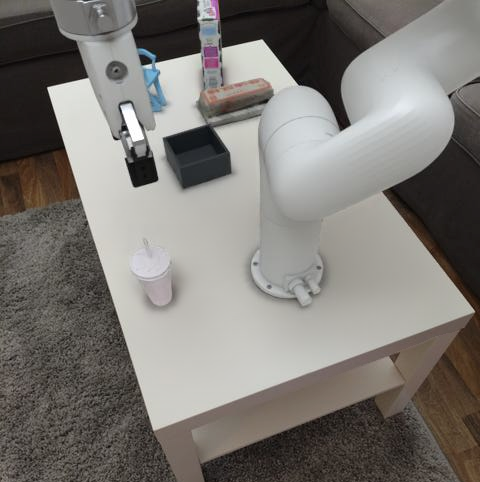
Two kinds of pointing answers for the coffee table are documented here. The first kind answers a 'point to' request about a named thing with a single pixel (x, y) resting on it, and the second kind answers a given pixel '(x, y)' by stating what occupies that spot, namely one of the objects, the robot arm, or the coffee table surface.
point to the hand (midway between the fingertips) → (135, 159)
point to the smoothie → (153, 272)
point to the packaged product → (235, 101)
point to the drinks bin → (197, 155)
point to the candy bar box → (210, 43)
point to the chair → (153, 81)
